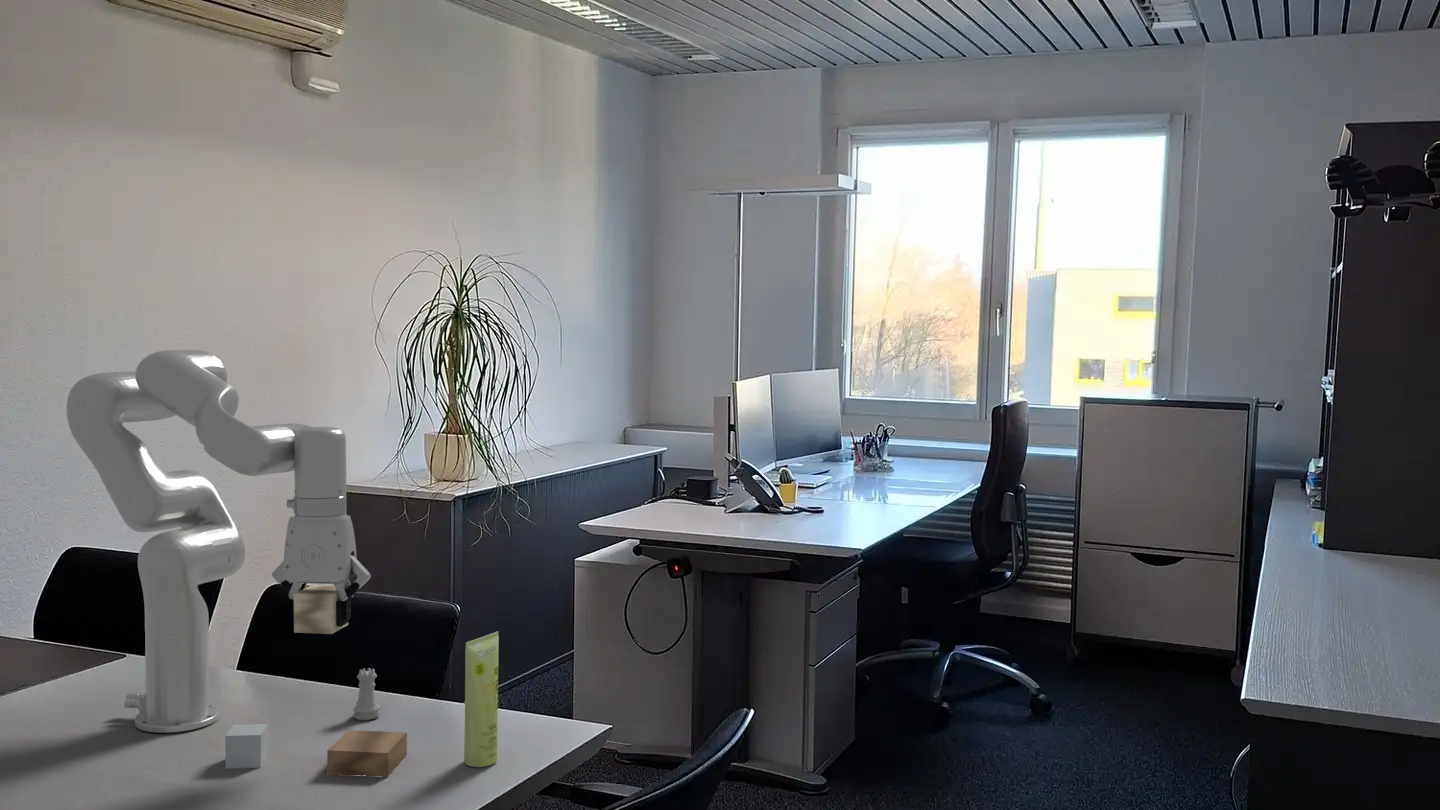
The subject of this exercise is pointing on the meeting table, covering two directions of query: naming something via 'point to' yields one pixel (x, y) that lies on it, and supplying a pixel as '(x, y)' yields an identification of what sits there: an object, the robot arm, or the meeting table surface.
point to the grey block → (246, 746)
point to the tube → (481, 701)
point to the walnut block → (367, 753)
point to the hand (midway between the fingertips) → (321, 622)
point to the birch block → (316, 610)
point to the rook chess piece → (366, 696)
